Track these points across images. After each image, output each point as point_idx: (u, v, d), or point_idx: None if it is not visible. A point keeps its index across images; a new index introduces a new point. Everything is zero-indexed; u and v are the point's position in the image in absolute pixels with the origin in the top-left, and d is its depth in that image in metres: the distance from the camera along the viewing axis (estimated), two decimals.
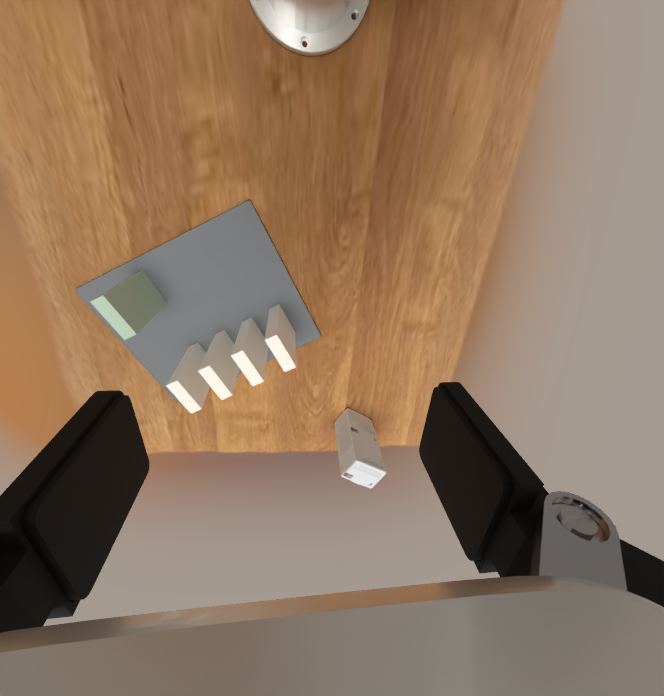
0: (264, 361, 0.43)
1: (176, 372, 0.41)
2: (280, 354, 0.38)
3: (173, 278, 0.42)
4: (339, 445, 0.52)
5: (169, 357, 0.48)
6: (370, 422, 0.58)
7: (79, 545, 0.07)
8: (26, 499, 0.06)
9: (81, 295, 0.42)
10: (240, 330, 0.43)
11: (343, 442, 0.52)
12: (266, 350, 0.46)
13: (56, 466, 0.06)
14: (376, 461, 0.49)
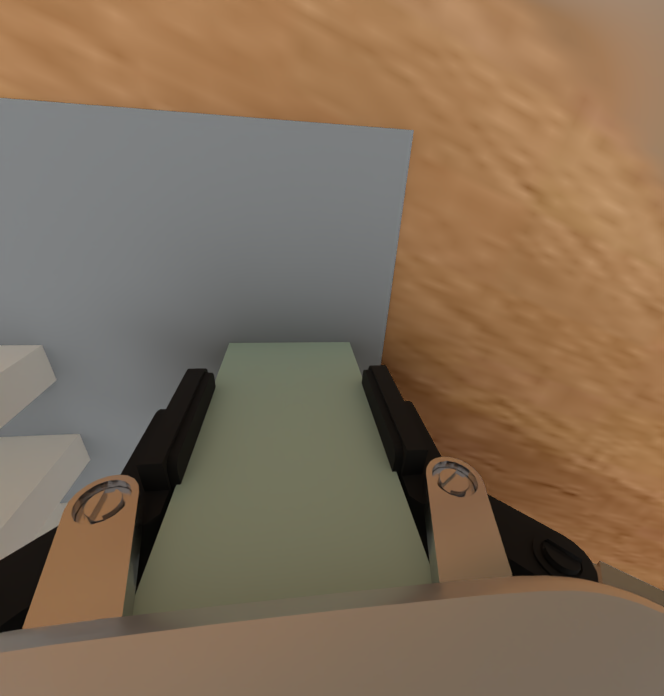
0: None
1: None
2: None
3: None
4: None
5: None
6: None
7: None
8: (167, 448, 0.07)
9: (383, 136, 0.10)
10: None
11: None
12: None
13: (177, 425, 0.08)
14: None
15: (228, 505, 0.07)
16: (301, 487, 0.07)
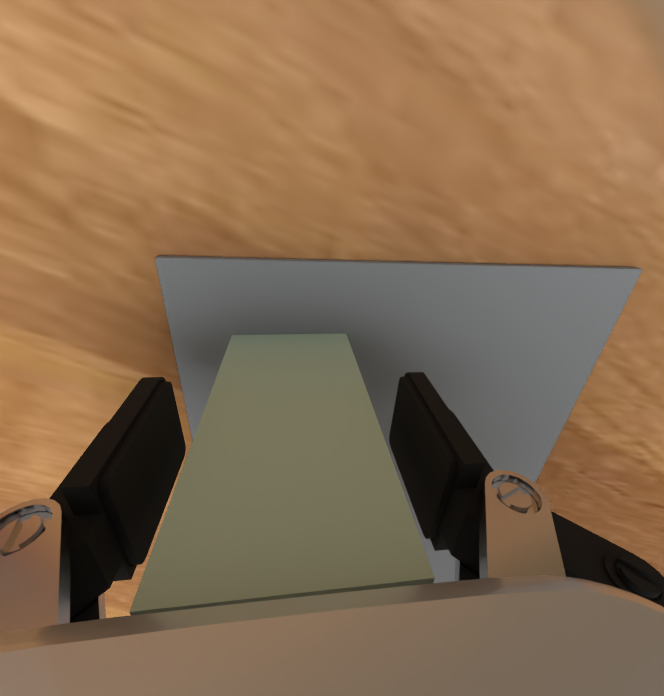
0: None
1: None
2: None
3: None
4: None
5: None
6: None
7: (137, 514, 0.07)
8: (100, 468, 0.06)
9: (621, 273, 0.15)
10: None
11: None
12: None
13: (118, 441, 0.07)
14: None
15: (234, 476, 0.07)
16: (299, 460, 0.08)
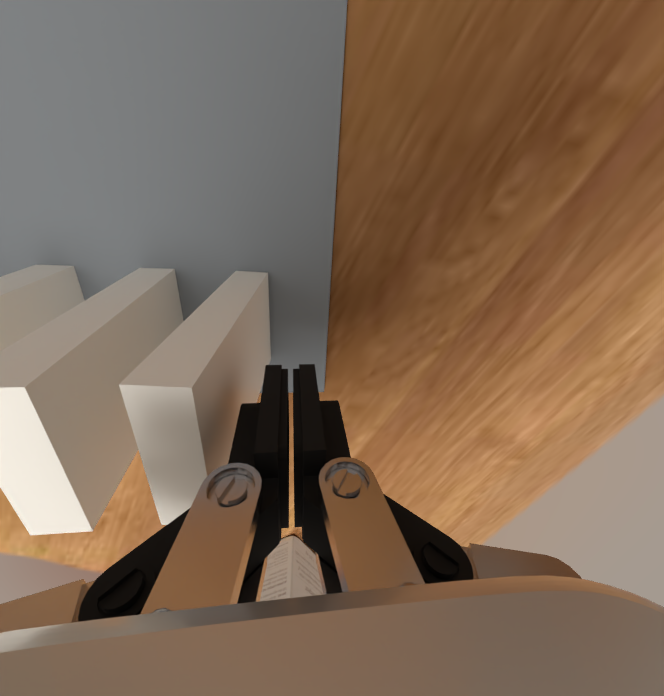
0: None
1: None
2: (171, 466, 0.08)
3: None
4: None
5: None
6: None
7: None
8: (275, 439, 0.07)
9: None
10: (112, 288, 0.13)
11: None
12: None
13: (275, 418, 0.08)
14: None
15: None
16: None
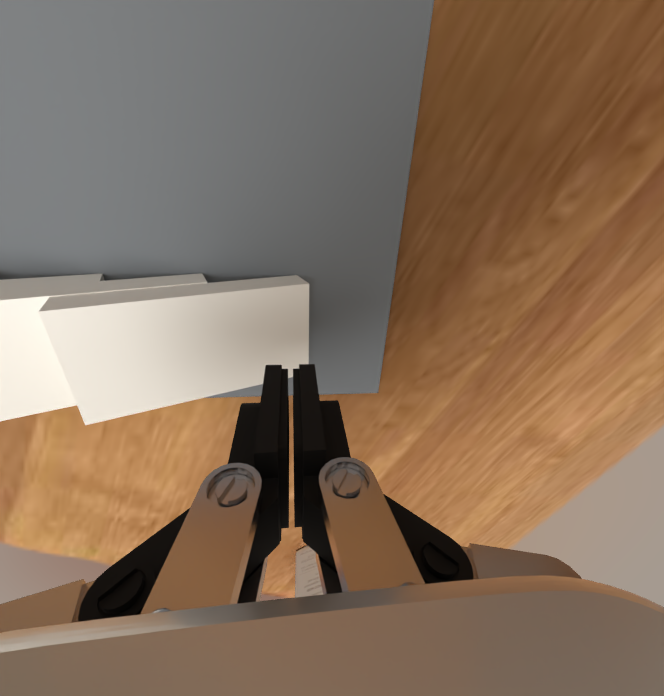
0: None
1: None
2: None
3: None
4: None
5: None
6: None
7: None
8: (275, 439, 0.07)
9: None
10: (125, 280, 0.14)
11: None
12: None
13: (275, 418, 0.08)
14: None
15: None
16: None
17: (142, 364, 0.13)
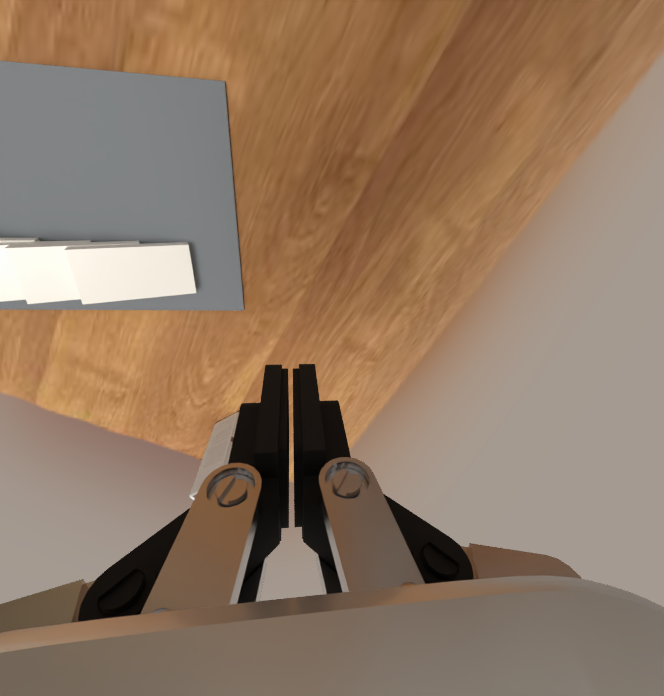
0: None
1: None
2: None
3: (62, 127, 0.28)
4: (207, 454, 0.39)
5: None
6: None
7: None
8: (275, 439, 0.07)
9: None
10: (100, 242, 0.31)
11: (214, 452, 0.39)
12: None
13: (275, 418, 0.08)
14: None
15: None
16: None
17: (107, 277, 0.30)
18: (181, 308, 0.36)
